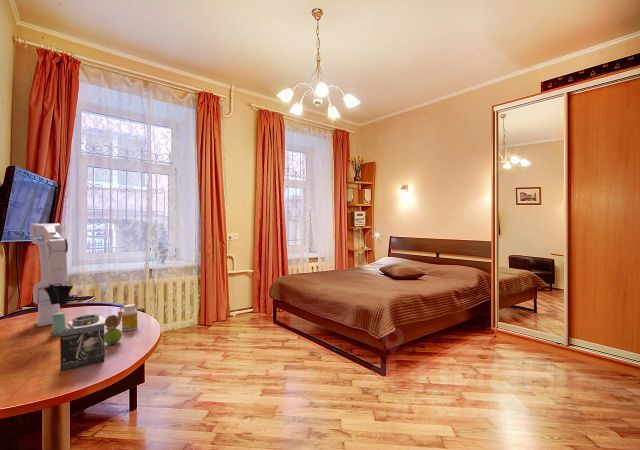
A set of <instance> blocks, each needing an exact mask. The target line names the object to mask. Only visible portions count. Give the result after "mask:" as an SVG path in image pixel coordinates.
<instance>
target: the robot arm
mask: <svg viewBox="0 0 640 450" xmlns="http://www.w3.org/2000/svg"><path fill="white" fill-rule="evenodd" d="M61 235H62V225H61V224H60V223H59V222H57V223H35V222H33V223H32V224H31V225H30V239H31V243H32V244H34V245H37V247H38V251H39V253H38V254H39V263H40V264H39V266H40V281H38V283H36V284H35V285H34V286H33V291H32V292H33V293H32V299H33V303H34V304H37V311H38V313H37V314H38V315H37V316H38V320H37V321H35V323H36V326H38V327H43V326H49V325H52V314H55V313H60V312H61V306H63V305H67V304H68V300H69V297H70V293H71V291H72V289H73V288H74V285H70V280H68V264H67V261H68V260H67V253H68V251H69V243H68V240H67V238H63V237H62V236H61Z"/></svg>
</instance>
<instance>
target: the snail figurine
mask: <svg viewBox="0 0 640 450" xmlns="http://www.w3.org/2000/svg"><path fill="white" fill-rule="evenodd" d="M123 310H124V307H119V311H118V312H117V315H115V314H110V315H108V316H107V317H106V320H105V325H104V326H105V330H107V331H105V332H104V341H105V343H106V344H107V345H114V344H117V343H119V342H120V340H121V339H122V336H123V335H122V331H121V330H120V329H119V328H117V327H118V326H119V325H120V324H121V323H122V312H123Z"/></svg>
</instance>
